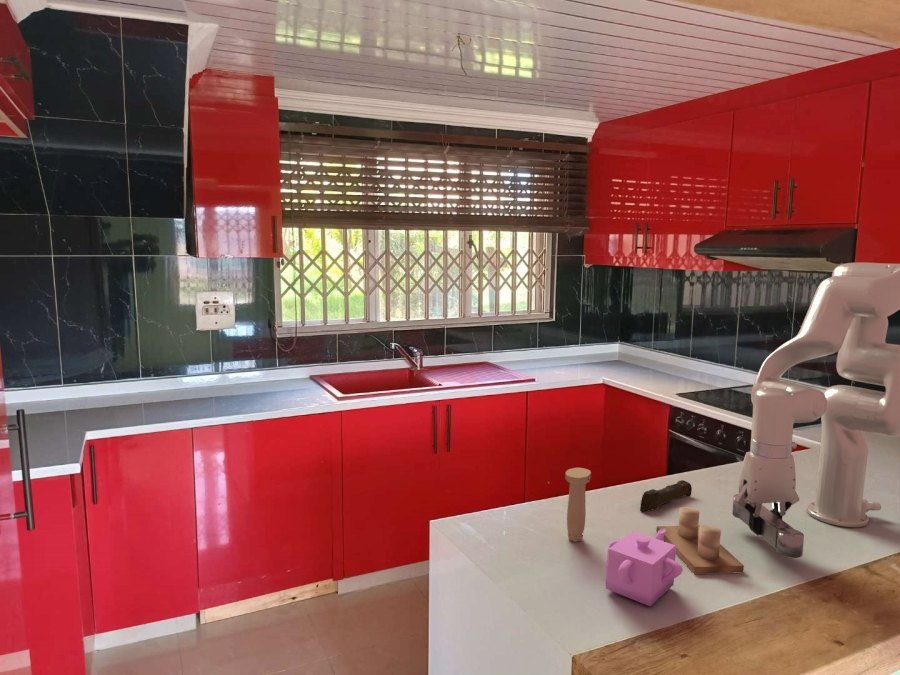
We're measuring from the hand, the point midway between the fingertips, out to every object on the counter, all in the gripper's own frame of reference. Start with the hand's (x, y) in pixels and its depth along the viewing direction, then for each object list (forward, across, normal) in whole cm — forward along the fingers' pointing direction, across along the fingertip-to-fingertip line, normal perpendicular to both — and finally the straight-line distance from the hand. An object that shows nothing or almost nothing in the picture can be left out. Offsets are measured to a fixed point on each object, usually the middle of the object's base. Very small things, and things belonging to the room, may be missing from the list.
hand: (764, 530), depth 134 cm
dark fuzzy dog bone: (+4, +11, -24) cm, 27 cm away
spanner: (0, 0, 0) cm, 0 cm away
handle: (+3, +39, -6) cm, 40 cm away
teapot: (+3, +32, +14) cm, 35 cm away
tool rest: (+3, +15, 0) cm, 15 cm away
